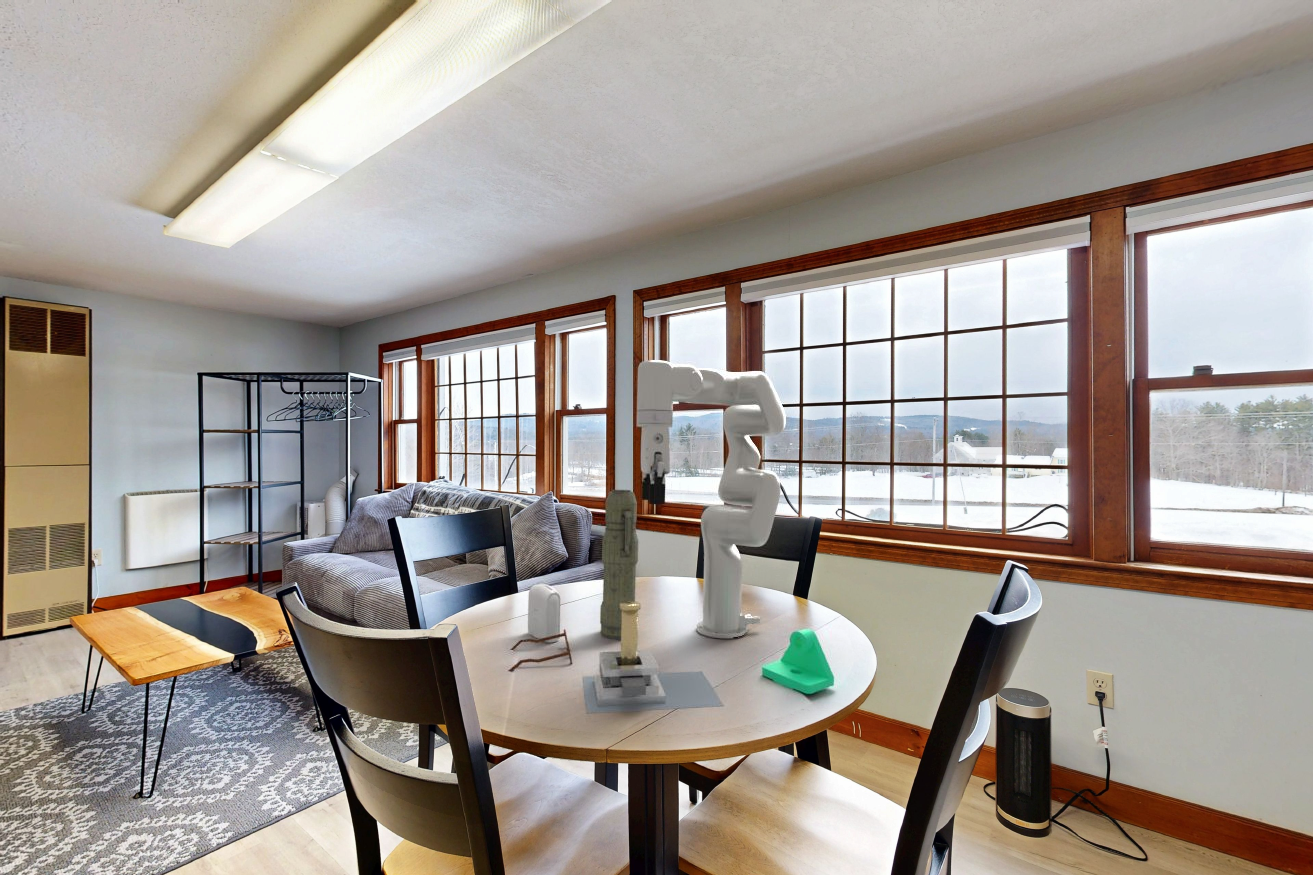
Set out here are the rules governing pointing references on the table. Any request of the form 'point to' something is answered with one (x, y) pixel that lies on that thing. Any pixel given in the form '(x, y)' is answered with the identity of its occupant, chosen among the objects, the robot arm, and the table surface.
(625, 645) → the pin
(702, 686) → the mat
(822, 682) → the camera mount
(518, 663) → the glasses
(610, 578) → the thermos
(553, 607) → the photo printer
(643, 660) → the clevis
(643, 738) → the table surface
